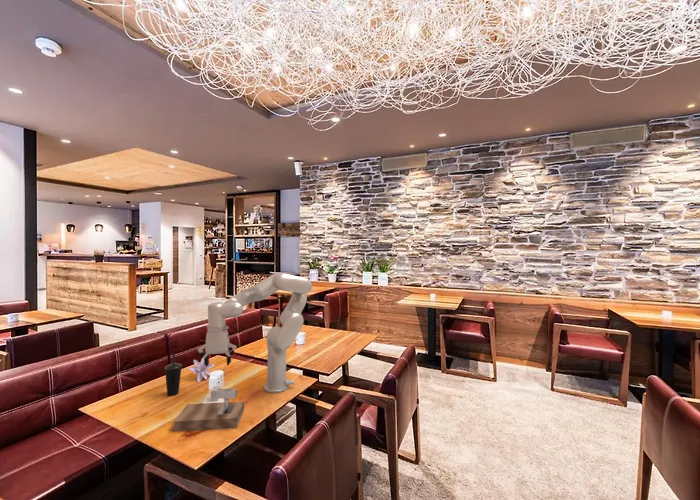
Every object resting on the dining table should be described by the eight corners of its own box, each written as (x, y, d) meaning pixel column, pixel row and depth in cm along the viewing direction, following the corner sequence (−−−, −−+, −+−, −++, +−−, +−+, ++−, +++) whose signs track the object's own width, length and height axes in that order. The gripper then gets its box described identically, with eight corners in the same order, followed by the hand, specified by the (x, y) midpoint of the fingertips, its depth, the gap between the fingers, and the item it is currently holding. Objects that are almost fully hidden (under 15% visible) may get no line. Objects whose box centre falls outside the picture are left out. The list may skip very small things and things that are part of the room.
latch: (217, 407, 134) (218, 388, 134) (236, 407, 134) (237, 388, 134) (209, 417, 126) (210, 397, 126) (229, 417, 126) (230, 397, 126)
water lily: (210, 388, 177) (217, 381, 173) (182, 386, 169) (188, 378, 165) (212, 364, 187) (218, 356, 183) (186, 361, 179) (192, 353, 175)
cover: (229, 396, 154) (229, 383, 154) (224, 406, 144) (224, 392, 144) (207, 397, 153) (207, 384, 153) (201, 408, 143) (201, 393, 143)
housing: (244, 410, 140) (244, 400, 140) (237, 427, 126) (237, 417, 126) (187, 413, 137) (187, 403, 137) (173, 431, 123) (173, 420, 123)
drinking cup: (185, 391, 158) (185, 352, 158) (172, 398, 150) (172, 356, 150) (173, 389, 160) (174, 350, 160) (160, 395, 153) (160, 354, 153)
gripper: (237, 326, 153) (238, 360, 154) (200, 327, 151) (201, 363, 151) (234, 330, 146) (234, 366, 146) (194, 332, 144) (195, 369, 144)
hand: (217, 364), depth 149 cm, fingers open, 9 cm apart
